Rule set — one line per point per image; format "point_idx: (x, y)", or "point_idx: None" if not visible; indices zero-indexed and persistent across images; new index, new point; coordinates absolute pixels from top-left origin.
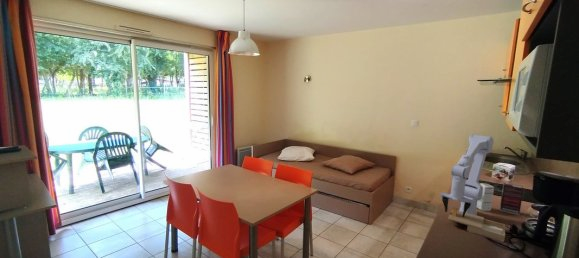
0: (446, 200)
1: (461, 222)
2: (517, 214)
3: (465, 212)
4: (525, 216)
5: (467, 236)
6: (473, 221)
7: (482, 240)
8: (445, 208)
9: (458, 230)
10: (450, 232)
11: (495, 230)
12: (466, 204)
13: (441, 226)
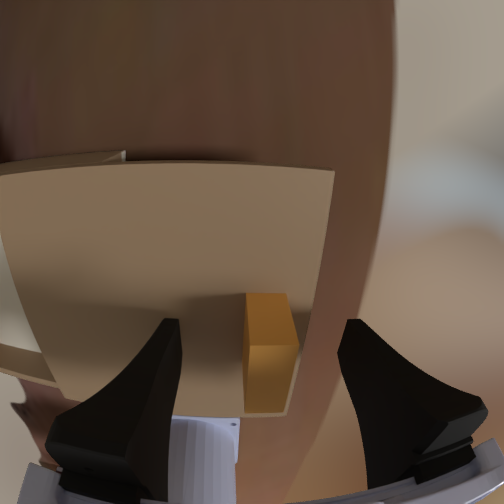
0: (449, 425)
1: (164, 162)
2: (60, 468)
3: (135, 356)
4: (46, 463)
5: (114, 37)
6: (72, 283)
7: (21, 71)
8: (380, 343)
9: (196, 103)
10: (264, 5)
11: (3, 302)
12: (100, 467)
13: (354, 88)
